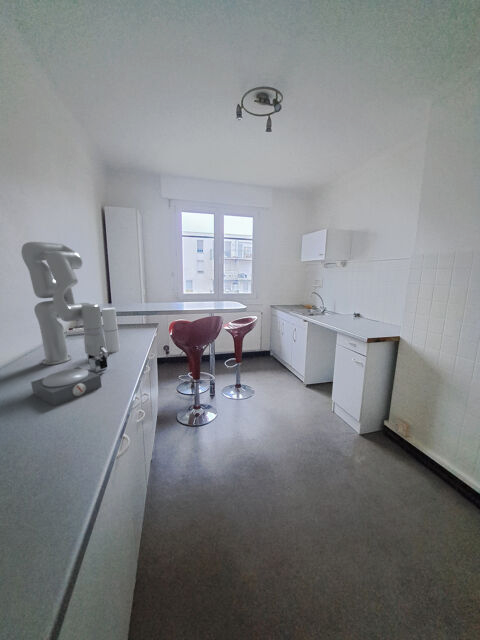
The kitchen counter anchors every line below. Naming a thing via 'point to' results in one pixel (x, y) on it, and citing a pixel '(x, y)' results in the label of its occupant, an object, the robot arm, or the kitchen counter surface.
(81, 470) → the kitchen counter surface
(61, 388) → the kitchen scale
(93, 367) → the steel spacer
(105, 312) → the cylindrical container
